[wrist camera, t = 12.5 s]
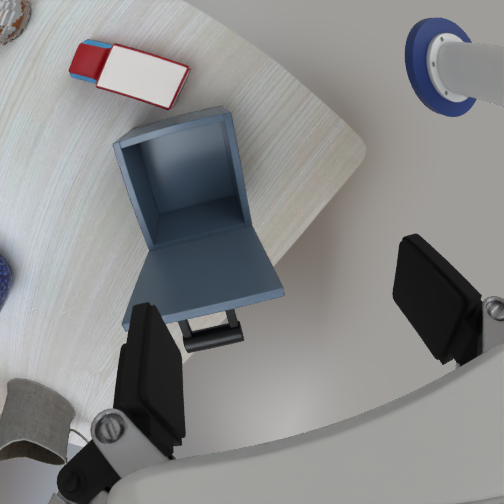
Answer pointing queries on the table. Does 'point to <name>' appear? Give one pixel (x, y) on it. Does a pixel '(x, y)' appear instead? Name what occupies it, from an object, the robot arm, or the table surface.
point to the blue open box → (184, 177)
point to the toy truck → (130, 72)
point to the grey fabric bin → (35, 423)
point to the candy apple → (12, 18)
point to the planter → (4, 281)
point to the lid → (206, 284)
